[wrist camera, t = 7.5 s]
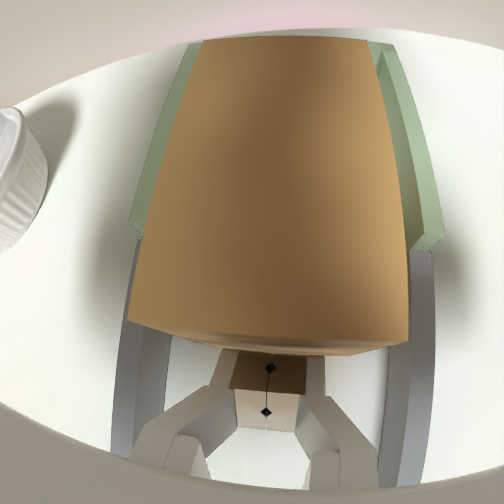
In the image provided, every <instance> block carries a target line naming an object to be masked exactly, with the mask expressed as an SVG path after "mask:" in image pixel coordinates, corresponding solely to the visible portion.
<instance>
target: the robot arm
mask: <svg viewBox="0 0 504 504" xmlns="http://www.w3.org/2000/svg"><path fill="white" fill-rule="evenodd" d="M237 427H242V428H253V429H266V430H274V431H284V432H295V433H294V434H295V436H296V437H297V439H298V441H299V443H300V444H301V446H302V448H303V449H304V451H305V453H306V454H307V456H308V458H309V460H310V464H309V468H308V471H307V475H306V478H305V482H304V485H303V488H302V490H298V489H282V488H270V487H260V486H251V485H243V484H236V483H229V482H223V481H217V480H211V477H210V474H209V471H208V467H207V464H206V461H205V458H206V457H208V456H209V455H210V454H211V453H212V452H213V451H214V450H215V449H216V448H217V447H218V446H220V445H221V444H222V443H223V442H224V441H225V440H226V439H227V438H228V437H229V436H230V435H231V434H232V433H233V432H234V431H235V430H236V429H237ZM0 504H504V465H502V466H498V467H495V468H492V469H488V470H484V471H481V472H477V473H473V474H469V475H464V476H460V477H455V478H450V479H445V480H440V481H435V482H429V483H422V484H415V485H408V486H400V487H390V488H379V487H378V471H377V458H376V449H375V448H374V447H373V445H372V444H371V443H370V442H369V441H368V440H367V439H366V437H365V436H364V435H363V434H362V433H361V432H360V431H359V429H358V428H357V427H356V426H355V425H354V424H353V422H352V421H351V420H350V419H349V418H348V417H347V415H346V414H345V413H344V412H343V411H342V410H341V408H340V407H339V406H338V405H337V404H336V403H335V401H334V400H333V399H332V398H331V397H330V396H325V357H324V356H323V355H294V354H276V353H274V354H273V353H264V352H255V351H246V350H234V349H227V348H224V349H223V350H222V351H221V354H220V357H219V360H218V362H217V365H216V368H215V371H214V374H213V376H212V379H211V382H210V385H209V386H203V387H201V388H200V389H198V390H197V391H195V392H194V393H193V394H191V395H190V396H188V397H187V398H185V399H184V400H182V401H181V402H179V403H177V404H176V405H174V406H173V407H171V408H170V409H168V410H167V411H165V412H164V413H162V414H160V415H159V416H157V417H156V418H154V419H153V420H151V421H149V422H148V423H146V424H145V425H144V427H143V429H142V431H141V433H140V435H139V437H138V439H137V441H136V443H135V445H134V447H133V449H132V451H131V454H130V456H129V458H128V459H127V458H124V457H121V456H118V455H115V454H112V453H109V452H107V451H104V450H101V449H98V448H96V447H93V446H91V445H88V444H85V443H83V442H81V441H78V440H76V439H73V438H71V437H69V436H66V435H64V434H62V433H60V432H57V431H55V430H53V429H51V428H49V427H47V426H45V425H43V424H40V423H38V422H36V421H34V420H33V419H31V418H29V417H27V416H25V415H23V414H21V413H19V412H17V411H16V410H14V409H12V408H10V407H8V406H7V405H5V404H3V403H2V402H0Z"/></svg>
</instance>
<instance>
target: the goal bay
mask: <svg viewBox="0 0 504 504" xmlns="http://www.w3.org/2000/svg"><path fill="white" fill-rule="evenodd" d="M367 42H368V46H369V49H370V52H371V56H372V59H373V62H374V66H375V70H376V73H377V77H378V81H379V85H380V89H381V93H382V97H383V101H384V105H385V109H386V114H387V119H388V123H389V128H390V133H391V138H392V144H393V149H394V155H395V161H396V167H397V173H398V179H399V186H400V193H401V200H402V208H403V217H404V226H405V237H406V248H407V252H408V251H409V250H417V251H429V250H430V249H431V248H432V247H433V246H434V245H435V244H436V243H437V242H438V240H439V239H440V238H441V237H442V236H443V235H444V227H443V221H442V214H441V208H440V203H439V197H438V192H437V187H436V182H435V177H434V172H433V168H432V164H431V159H430V155H429V151H428V147H427V143H426V140H425V136H424V132H423V129H422V125H421V122H420V118H419V115H418V112H417V108H416V105H415V102H414V99H413V96H412V93H411V90H410V87H409V84H408V82H407V79H406V76H405V73H404V71H403V68H402V65H401V63H400V60H399V58H398V55H397V53H396V50H395V48H394V45H392V44H385V43H377V42H369V41H367ZM202 43H203V42H201V43H194V44H189V46H188V48H187V50H186V52H185V55H184V57H183V59H182V62H181V64H180V67H179V69H178V71H177V74H176V76H175V79H174V81H173V84H172V86H171V89H170V92H169V94H168V97H167V100H166V102H165V105H164V108H163V110H162V113H161V116H160V119H159V122H158V125H157V127H156V130H155V133H154V136H153V139H152V142H151V145H150V149H149V152H148V155H147V158H146V161H145V165H144V168H143V171H142V175H141V178H140V181H139V185H138V188H137V192H136V196H135V199H134V203H133V207H132V211H131V215H130V219H129V224H131V225H132V226H133V227H134V228H135V229H136V230H137V231H138V232H139V233H140V234H141V235H142V236H143V233H144V228H145V224H146V220H147V215H148V211H149V207H150V203H151V199H152V195H153V192H154V188H155V184H156V180H157V177H158V173H159V169H160V166H161V162H162V159H163V155H164V152H165V149H166V145H167V142H168V139H169V136H170V132H171V129H172V126H173V123H174V120H175V117H176V114H177V111H178V108H179V105H180V102H181V99H182V96H183V93H184V90H185V87H186V85H187V82H188V79H189V76H190V74H191V71H192V68H193V66H194V63H195V60H196V58H197V55H198V53H199V50H200V48H201V45H202Z"/></svg>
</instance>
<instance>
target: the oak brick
mask: <svg viewBox="0 0 504 504" xmlns="http://www.w3.org/2000/svg"><path fill="white" fill-rule="evenodd" d="M127 320H129V321H131V322H134V323H137V324H140V325H143V326H146V327H149V328H152V329H155V330H159V331H162V332H165V333H168V334H171V335H174V336H178V337H181V338H184V339H188V340H191V341H194V342H198V343H201V344H205V345H208V346H212V347H220V348H230V349H239V350H250V351H262V352H274V353H289V354H306V355H328V356H349V355H354V354H358V353H362V352H367V351H371V350H375V349H379V348H383V347H387V346H391V345H395V344H398V343H402V342H406V341H408V275H407V256H406V242H405V231H404V220H403V211H402V202H401V194H400V187H399V180H398V173H397V167H396V161H395V155H394V149H393V144H392V138H391V133H390V128H389V123H388V119H387V114H386V109H385V105H384V101H383V97H382V93H381V89H380V85H379V81H378V77H377V73H376V70H375V66H374V62H373V59H372V56H371V52H370V49H369V46H368V42H367V40H360V39H349V38H337V37H320V36H255V37H237V38H225V39H214V40H205V41H203V43H202V45H201V48H200V50H199V53H198V55H197V58H196V60H195V63H194V66H193V68H192V71H191V74H190V76H189V79H188V82H187V85H186V87H185V90H184V93H183V96H182V99H181V102H180V105H179V108H178V111H177V114H176V117H175V120H174V123H173V126H172V129H171V132H170V136H169V139H168V142H167V145H166V149H165V152H164V155H163V159H162V162H161V166H160V169H159V173H158V177H157V180H156V184H155V188H154V192H153V195H152V199H151V203H150V207H149V211H148V215H147V220H146V224H145V228H144V233H143V237H142V241H141V246H140V251H139V255H138V260H137V265H136V270H135V275H134V281H133V286H132V292H131V297H130V303H129V309H128V315H127Z"/></svg>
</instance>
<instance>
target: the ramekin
mask: <svg viewBox="0 0 504 504" xmlns="http://www.w3.org/2000/svg"><path fill="white" fill-rule="evenodd" d="M47 179H48V165H47V159H46V156H45V154H44V152H43V150H42V149H41V147H40V145H39V143H38V142H37V140H36V138H35V137H34V135H33V133H32V132H31V130H30V129H29V127H28V123H27V120H26V118H25V116H24V115H23V114H22V113H21V111H20V110H18V109H17V108H14V107H6V108H2V109H0V253H3V252H5V251H6V250H8V249H9V248H11V247H12V246H13V245H14V244H15V243H16V242H17V241H18V240H19V239H20V238H21V237H22V235H23V234H24V233H25V232H26V230H27V229H28V227H29V226H30V224H31V223H32V221H33V219H34V217H35V216H36V214H37V212H38V210H39V207H40V205H41V203H42V200H43V197H44V194H45V191H46V186H47Z"/></svg>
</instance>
